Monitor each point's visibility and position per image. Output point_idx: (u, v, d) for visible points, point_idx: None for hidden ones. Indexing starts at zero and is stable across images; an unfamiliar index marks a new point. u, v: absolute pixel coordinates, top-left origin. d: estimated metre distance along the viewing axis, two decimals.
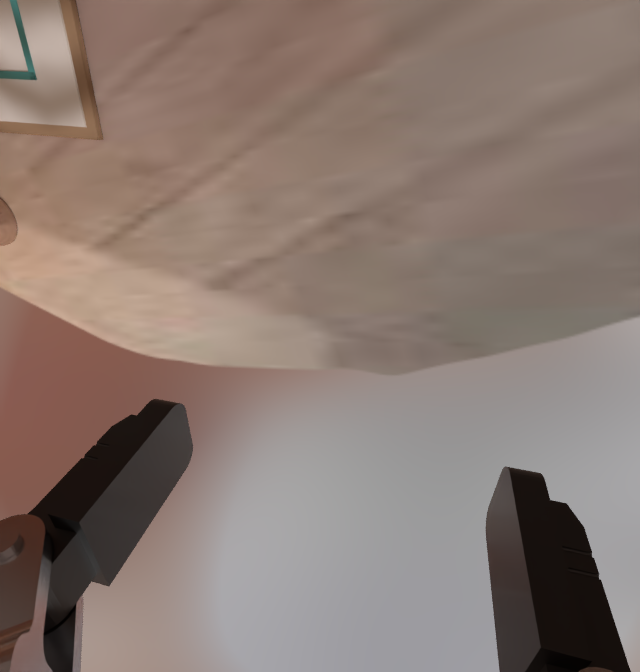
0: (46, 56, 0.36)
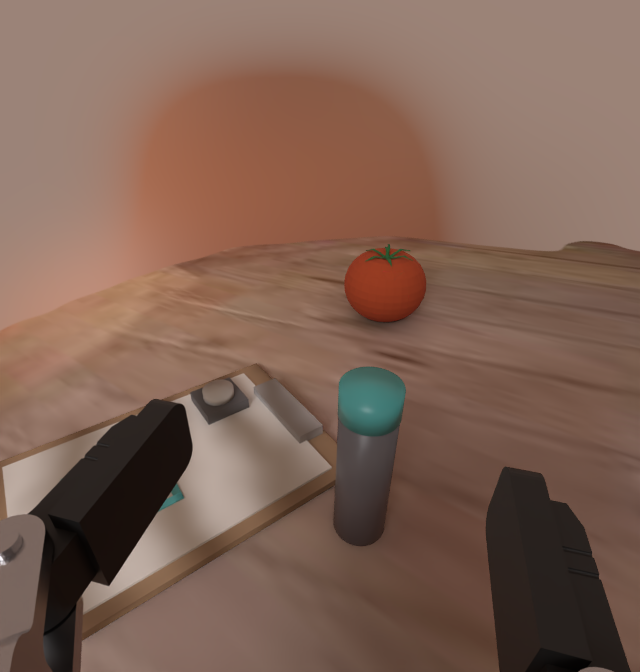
0: None
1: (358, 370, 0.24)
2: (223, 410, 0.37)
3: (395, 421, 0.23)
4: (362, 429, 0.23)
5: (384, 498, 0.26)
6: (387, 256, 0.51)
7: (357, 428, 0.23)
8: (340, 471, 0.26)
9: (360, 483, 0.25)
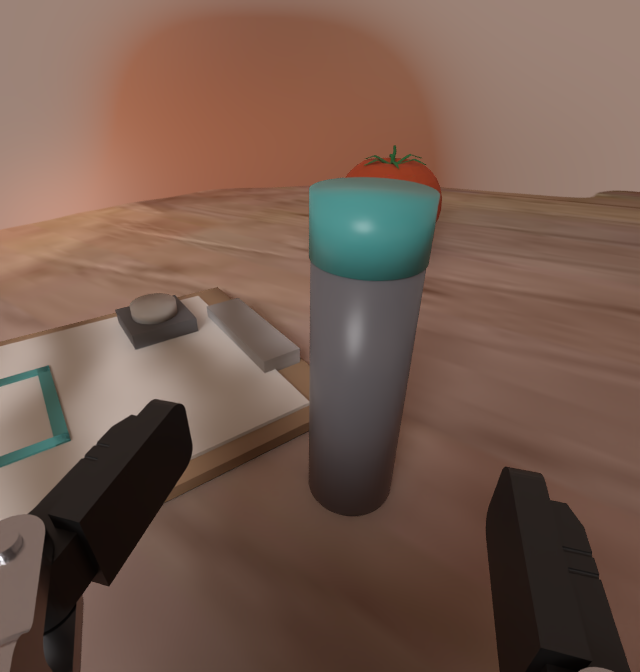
0: None
1: (349, 179, 0.13)
2: (157, 330, 0.26)
3: (419, 252, 0.12)
4: (354, 264, 0.11)
5: (393, 428, 0.15)
6: (392, 162, 0.39)
7: (343, 264, 0.11)
8: (315, 375, 0.14)
9: (351, 392, 0.14)
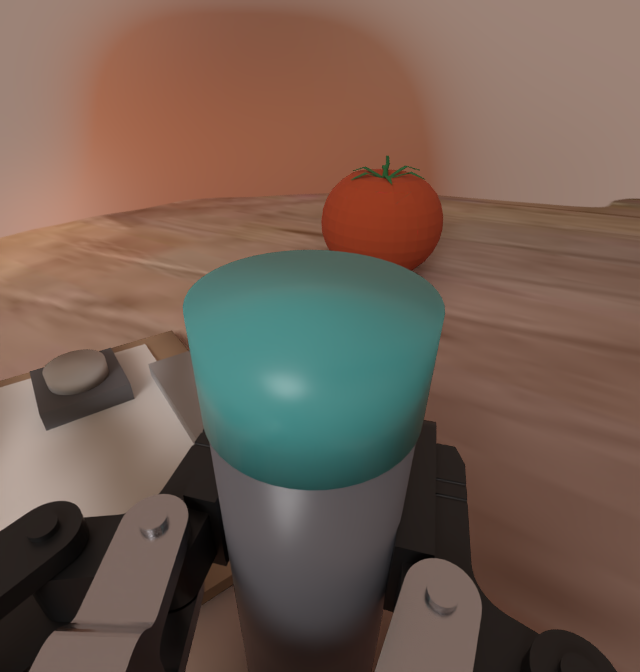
0: None
1: (280, 256, 0.07)
2: (76, 403, 0.20)
3: (404, 429, 0.06)
4: (267, 462, 0.05)
5: (367, 646, 0.09)
6: (384, 175, 0.33)
7: (246, 456, 0.06)
8: (233, 576, 0.08)
9: (288, 626, 0.08)
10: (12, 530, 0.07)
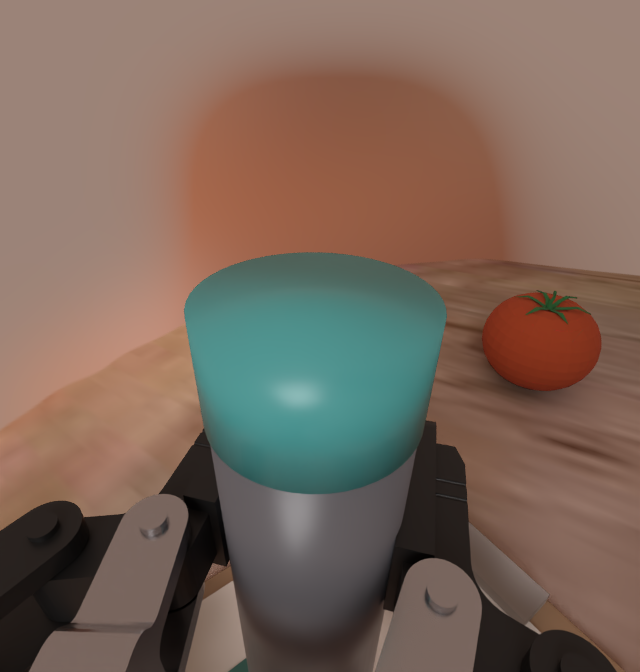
0: None
1: (282, 258, 0.07)
2: None
3: (405, 432, 0.06)
4: (268, 465, 0.05)
5: (368, 649, 0.09)
6: (550, 306, 0.38)
7: (247, 461, 0.06)
8: (233, 580, 0.08)
9: (289, 630, 0.08)
10: (12, 530, 0.07)
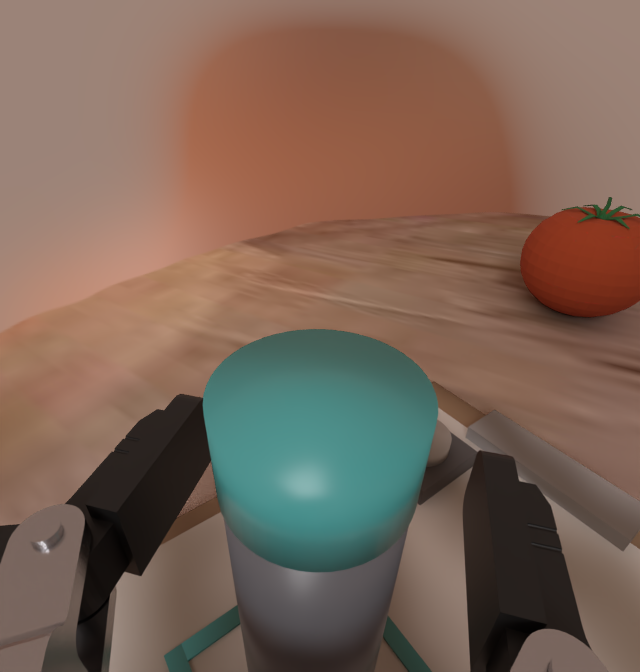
0: None
1: (288, 338, 0.08)
2: (444, 476, 0.20)
3: (400, 516, 0.06)
4: (278, 548, 0.06)
5: None
6: (603, 216, 0.33)
7: (259, 542, 0.06)
8: (241, 623, 0.09)
9: None
10: None
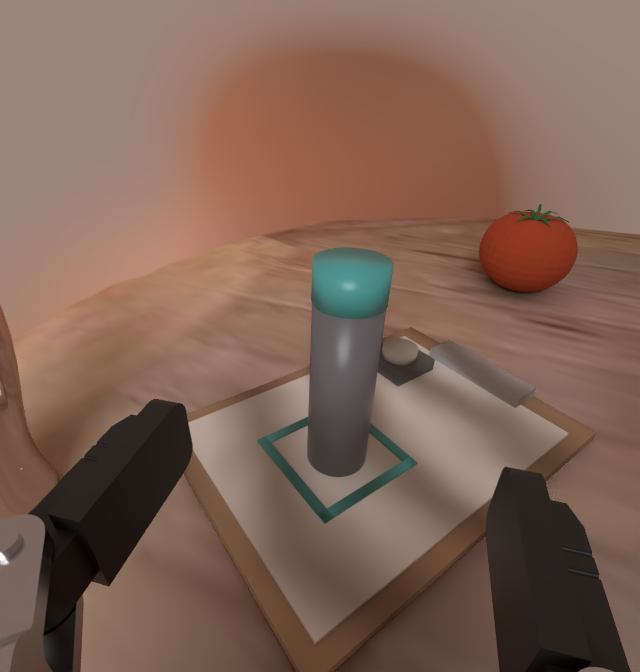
0: (371, 529, 0.21)
1: (338, 249, 0.20)
2: (413, 370, 0.32)
3: (380, 301, 0.19)
4: (339, 308, 0.18)
5: (366, 414, 0.22)
6: (536, 218, 0.46)
7: (333, 308, 0.18)
8: (313, 376, 0.21)
9: (337, 388, 0.21)
10: None
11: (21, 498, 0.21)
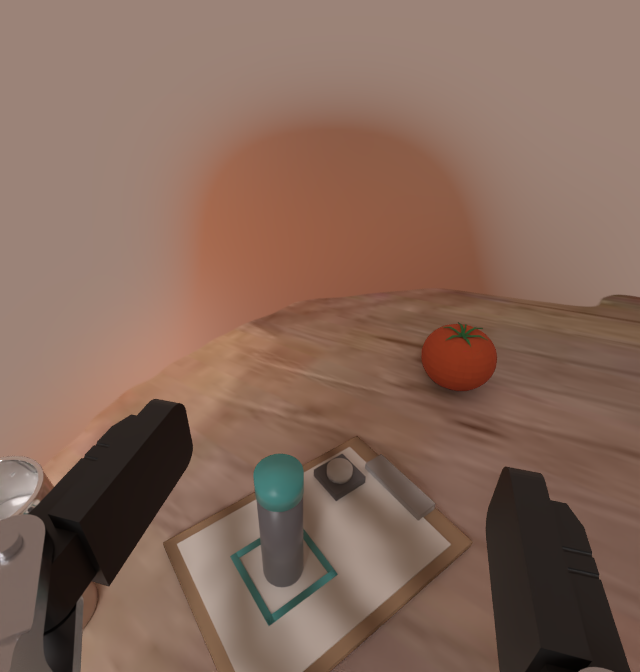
0: (298, 630, 0.33)
1: (272, 457, 0.32)
2: (347, 488, 0.43)
3: (294, 500, 0.30)
4: (269, 506, 0.30)
5: (296, 552, 0.34)
6: (463, 334, 0.57)
7: (265, 505, 0.30)
8: (260, 532, 0.33)
9: (274, 543, 0.32)
10: None
11: None
